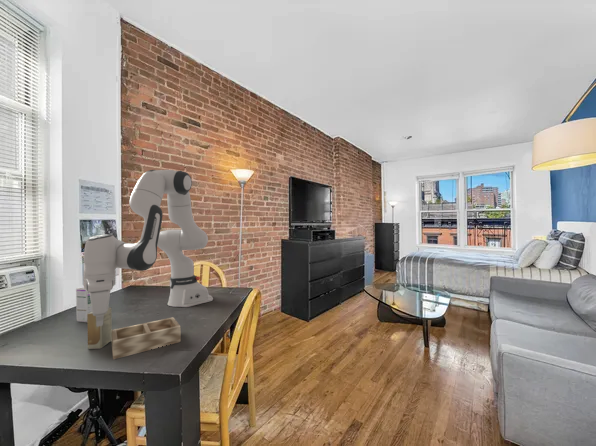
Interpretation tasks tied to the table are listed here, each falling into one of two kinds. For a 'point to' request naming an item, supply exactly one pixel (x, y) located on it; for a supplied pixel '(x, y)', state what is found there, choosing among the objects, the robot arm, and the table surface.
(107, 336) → the skincare box
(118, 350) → the slot rack
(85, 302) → the syrup box
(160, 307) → the table surface
